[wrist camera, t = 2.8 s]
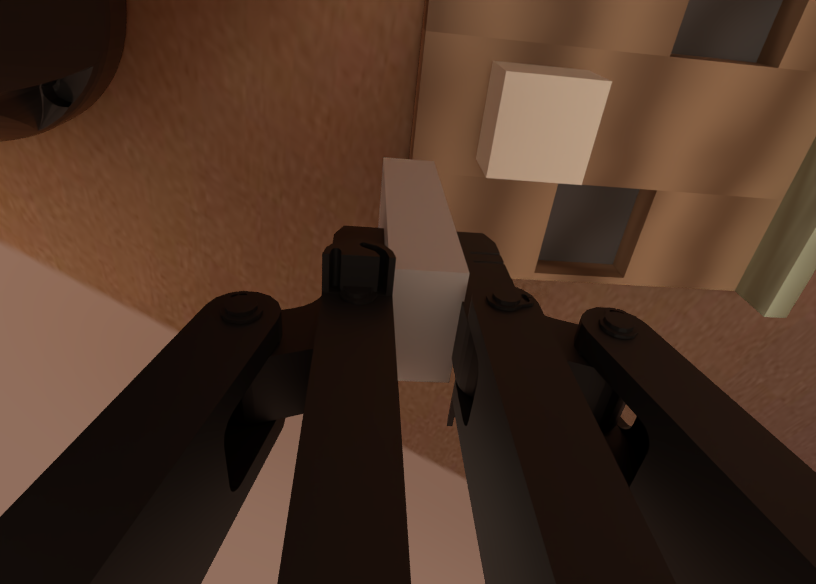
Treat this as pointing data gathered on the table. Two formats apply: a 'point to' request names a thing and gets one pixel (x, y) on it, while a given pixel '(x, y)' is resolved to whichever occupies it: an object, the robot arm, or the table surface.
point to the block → (540, 122)
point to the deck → (641, 141)
